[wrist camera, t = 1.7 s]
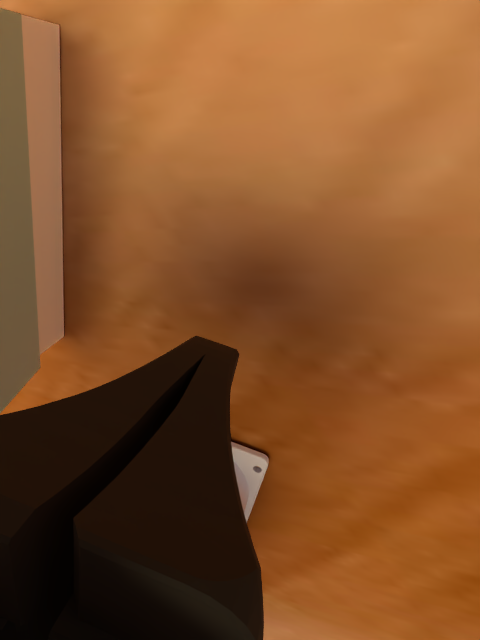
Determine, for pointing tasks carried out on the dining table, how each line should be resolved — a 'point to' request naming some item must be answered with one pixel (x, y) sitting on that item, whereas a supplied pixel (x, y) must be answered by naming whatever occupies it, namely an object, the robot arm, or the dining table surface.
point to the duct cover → (15, 221)
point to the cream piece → (45, 171)
